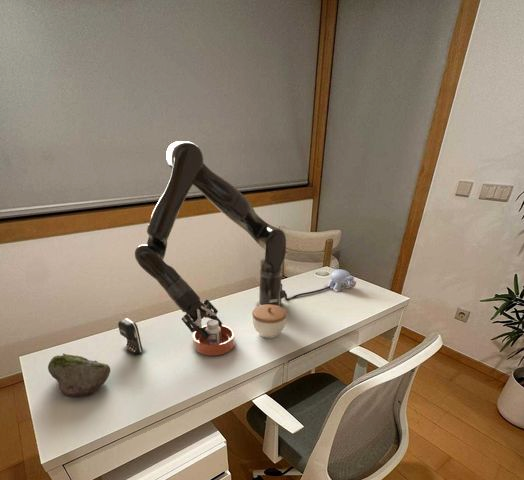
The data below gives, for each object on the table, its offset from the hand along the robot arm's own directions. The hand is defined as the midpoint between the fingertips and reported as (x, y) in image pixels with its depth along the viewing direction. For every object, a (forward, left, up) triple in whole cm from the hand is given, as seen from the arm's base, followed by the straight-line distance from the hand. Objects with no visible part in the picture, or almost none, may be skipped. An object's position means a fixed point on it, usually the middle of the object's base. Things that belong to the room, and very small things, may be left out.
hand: (214, 331), depth 111 cm
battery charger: (+22, -17, -6) cm, 29 cm away
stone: (+41, -12, -6) cm, 43 cm away
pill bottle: (0, 0, -5) cm, 5 cm away
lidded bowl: (-20, +8, -6) cm, 22 cm away
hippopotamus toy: (-78, +4, -6) cm, 78 cm away
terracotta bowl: (0, 0, -6) cm, 6 cm away
